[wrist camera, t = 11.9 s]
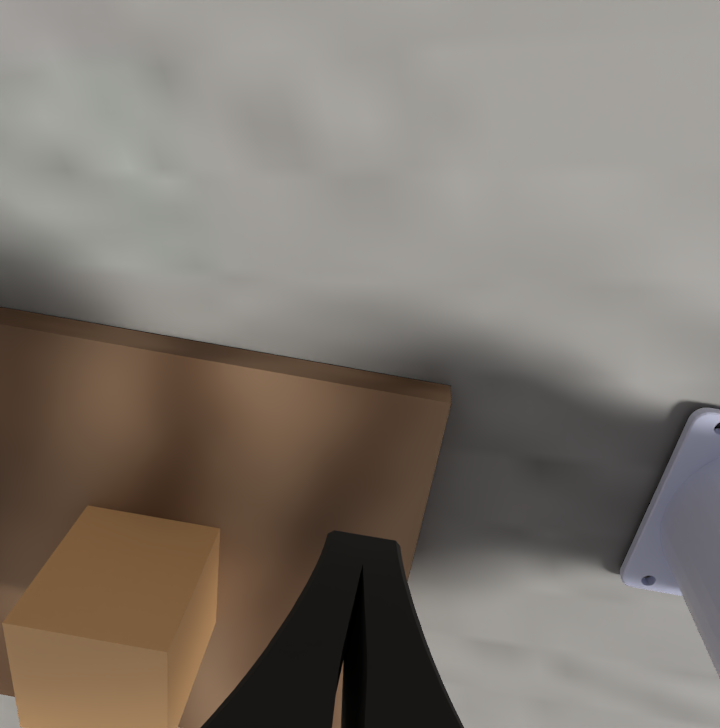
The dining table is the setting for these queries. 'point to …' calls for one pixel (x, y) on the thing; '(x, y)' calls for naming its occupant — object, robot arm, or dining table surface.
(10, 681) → the base board
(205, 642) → the tan wooden cube
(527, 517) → the dining table surface
